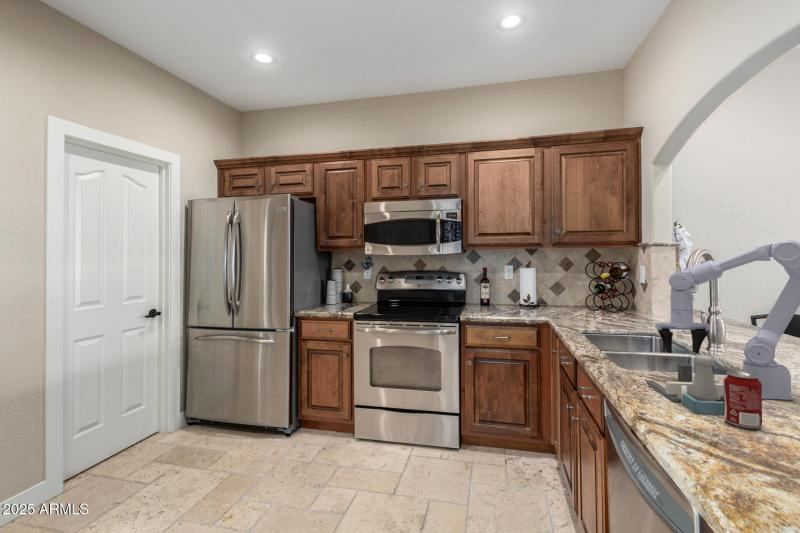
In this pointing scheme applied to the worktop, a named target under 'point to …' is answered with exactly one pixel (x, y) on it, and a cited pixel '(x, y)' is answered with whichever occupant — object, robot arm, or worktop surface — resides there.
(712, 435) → the worktop surface
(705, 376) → the salt shaker
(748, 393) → the soda can
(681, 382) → the pusher bar
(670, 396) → the rails
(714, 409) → the frame
